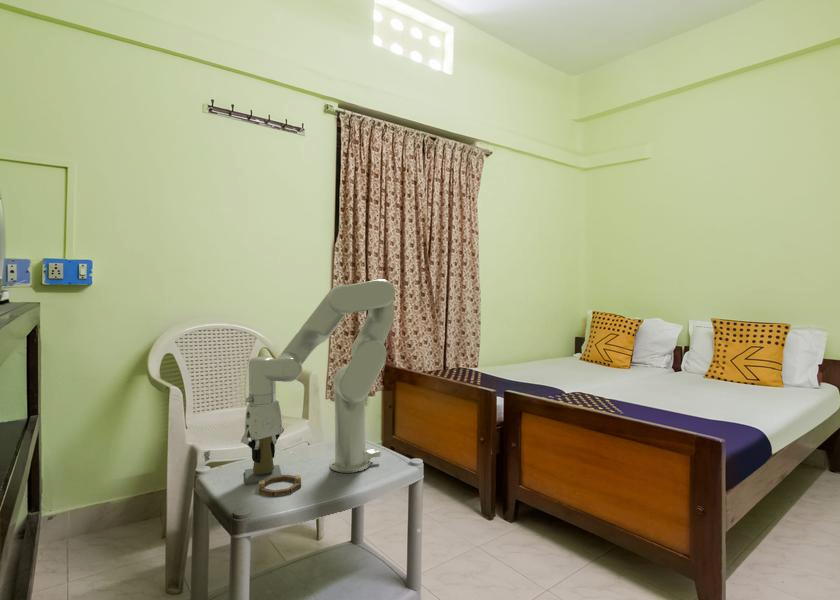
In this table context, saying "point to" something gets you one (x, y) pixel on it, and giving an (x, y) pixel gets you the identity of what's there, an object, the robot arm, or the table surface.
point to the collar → (282, 491)
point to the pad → (260, 475)
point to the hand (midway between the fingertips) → (263, 458)
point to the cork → (264, 457)
